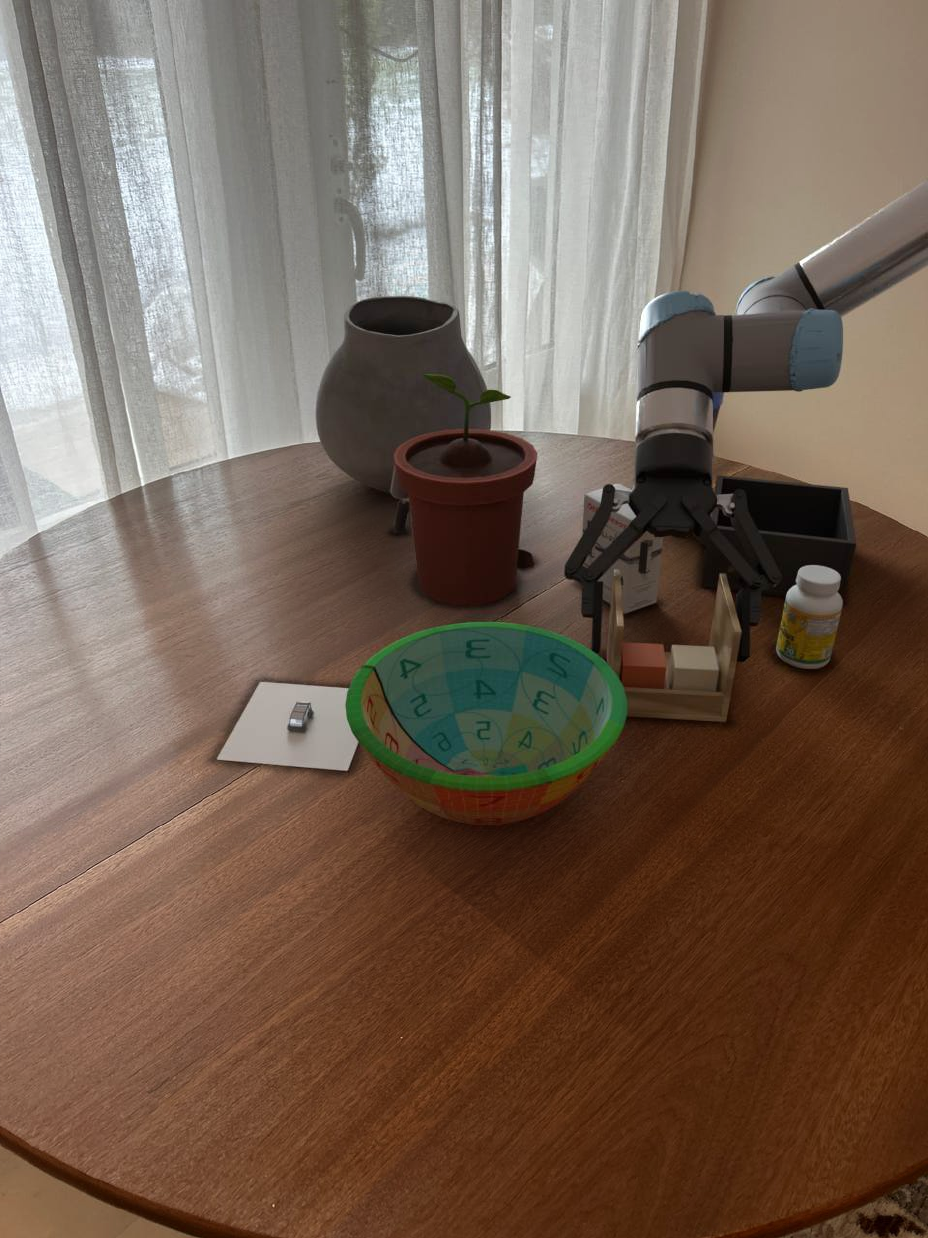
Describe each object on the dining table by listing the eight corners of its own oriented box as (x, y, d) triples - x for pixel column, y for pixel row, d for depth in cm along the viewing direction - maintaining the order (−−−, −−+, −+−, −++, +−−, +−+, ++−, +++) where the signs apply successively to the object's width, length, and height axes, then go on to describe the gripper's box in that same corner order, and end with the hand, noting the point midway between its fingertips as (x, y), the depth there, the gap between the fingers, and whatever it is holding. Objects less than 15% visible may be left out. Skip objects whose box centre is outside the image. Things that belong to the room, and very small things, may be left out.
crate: (606, 653, 96) (613, 568, 91) (712, 658, 95) (725, 573, 90) (609, 715, 87) (617, 625, 82) (726, 722, 86) (741, 631, 81)
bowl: (657, 756, 82) (668, 663, 77) (545, 933, 66) (550, 830, 61) (443, 684, 92) (440, 596, 87) (299, 822, 76) (286, 725, 70)
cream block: (667, 678, 91) (671, 644, 89) (708, 680, 91) (714, 646, 89) (670, 702, 88) (675, 667, 86) (713, 704, 88) (719, 670, 86)
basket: (835, 543, 117) (848, 487, 113) (842, 604, 104) (856, 543, 100) (709, 529, 121) (716, 474, 117) (700, 586, 108) (709, 527, 104)
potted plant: (381, 616, 103) (366, 396, 90) (394, 530, 122) (383, 337, 109) (540, 614, 103) (548, 394, 90) (529, 528, 122) (534, 335, 108)
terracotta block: (618, 675, 92) (621, 642, 90) (659, 677, 92) (663, 644, 89) (619, 699, 88) (622, 665, 86) (662, 702, 88) (666, 667, 86)
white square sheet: (216, 759, 83) (213, 746, 82) (260, 681, 93) (258, 669, 92) (347, 770, 81) (346, 757, 80) (377, 690, 91) (376, 678, 90)
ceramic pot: (308, 518, 125) (287, 330, 112) (336, 451, 146) (321, 286, 132) (489, 519, 124) (490, 330, 111) (491, 452, 145) (492, 285, 132)
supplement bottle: (836, 670, 93) (857, 587, 88) (783, 671, 93) (800, 588, 88) (819, 641, 98) (838, 561, 93) (768, 641, 98) (784, 561, 93)
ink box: (577, 583, 109) (582, 490, 103) (610, 572, 111) (617, 481, 105) (624, 615, 103) (633, 518, 97) (658, 603, 105) (669, 507, 99)
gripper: (792, 464, 94) (794, 669, 90) (547, 456, 97) (536, 655, 92) (813, 433, 87) (816, 654, 82) (547, 425, 90) (535, 639, 85)
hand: (668, 655), depth 87 cm, fingers open, 13 cm apart
